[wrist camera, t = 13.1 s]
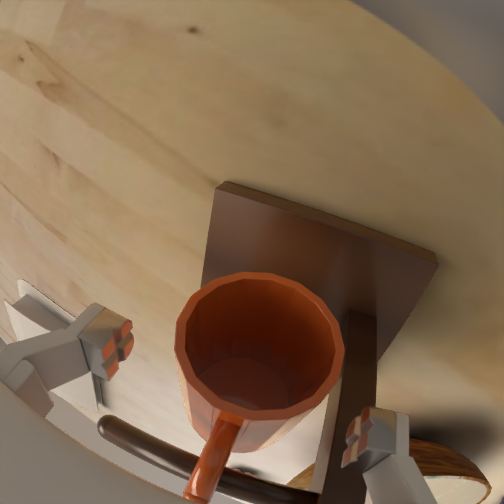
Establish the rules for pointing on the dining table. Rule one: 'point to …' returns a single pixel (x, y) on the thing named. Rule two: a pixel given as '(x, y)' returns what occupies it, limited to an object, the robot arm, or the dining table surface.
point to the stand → (339, 303)
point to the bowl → (433, 474)
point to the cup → (251, 366)
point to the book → (44, 321)
